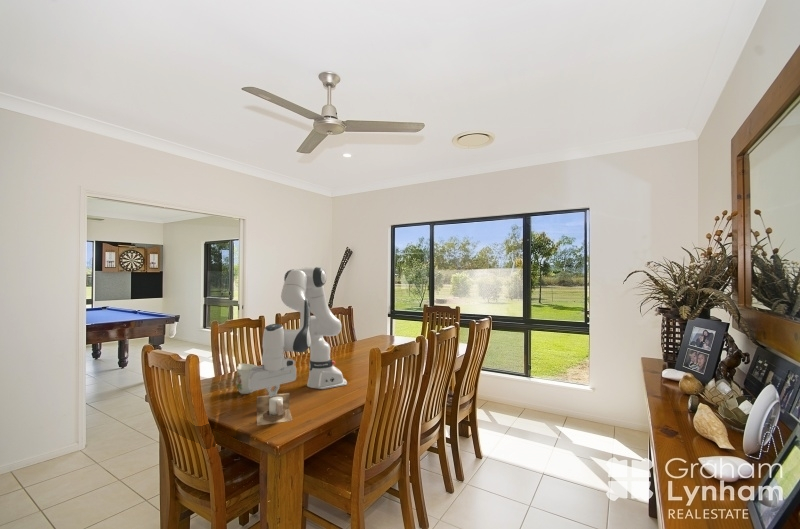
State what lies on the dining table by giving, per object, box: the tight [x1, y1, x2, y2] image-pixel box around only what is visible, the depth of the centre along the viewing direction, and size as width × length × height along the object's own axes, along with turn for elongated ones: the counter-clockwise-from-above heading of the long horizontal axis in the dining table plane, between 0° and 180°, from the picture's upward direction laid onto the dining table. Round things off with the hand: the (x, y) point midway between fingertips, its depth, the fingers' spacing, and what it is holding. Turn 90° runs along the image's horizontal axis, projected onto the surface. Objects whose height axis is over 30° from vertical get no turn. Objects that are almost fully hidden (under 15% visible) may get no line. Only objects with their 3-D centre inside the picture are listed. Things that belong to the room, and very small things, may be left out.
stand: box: [256, 392, 293, 427], centre depth 154 cm, size 14×16×8 cm
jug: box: [269, 397, 283, 415], centre depth 152 cm, size 10×6×8 cm, turn 34°
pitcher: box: [235, 362, 259, 395], centre depth 188 cm, size 11×18×14 cm, turn 51°
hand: (272, 396), depth 149 cm, fingers closed
